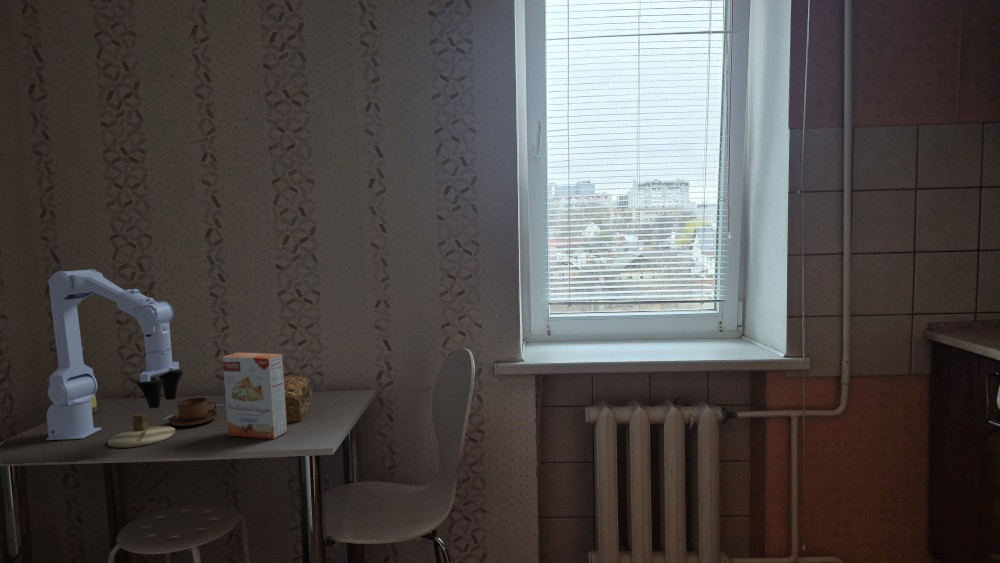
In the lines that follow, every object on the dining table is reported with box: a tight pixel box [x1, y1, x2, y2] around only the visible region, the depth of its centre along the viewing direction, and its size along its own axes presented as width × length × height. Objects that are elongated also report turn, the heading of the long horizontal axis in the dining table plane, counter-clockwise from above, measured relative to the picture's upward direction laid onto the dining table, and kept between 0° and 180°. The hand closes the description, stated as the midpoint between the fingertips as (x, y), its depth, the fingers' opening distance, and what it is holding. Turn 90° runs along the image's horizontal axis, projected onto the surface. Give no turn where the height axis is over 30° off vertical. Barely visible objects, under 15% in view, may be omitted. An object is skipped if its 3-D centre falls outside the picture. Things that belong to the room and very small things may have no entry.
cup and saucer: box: [168, 397, 218, 427], centre depth 168 cm, size 12×12×6 cm
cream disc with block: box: [107, 412, 176, 449], centre depth 156 cm, size 15×15×5 cm
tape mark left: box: [161, 414, 175, 421], centre depth 174 cm, size 1×5×1 cm, turn 1°
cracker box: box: [222, 352, 288, 440], centre depth 154 cm, size 14×6×21 cm, turn 73°
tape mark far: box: [211, 404, 226, 407], centre depth 185 cm, size 5×1×1 cm, turn 91°
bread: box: [284, 374, 313, 424], centre depth 173 cm, size 19×11×10 cm, turn 7°
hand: (162, 403), depth 153 cm, fingers open, 7 cm apart
